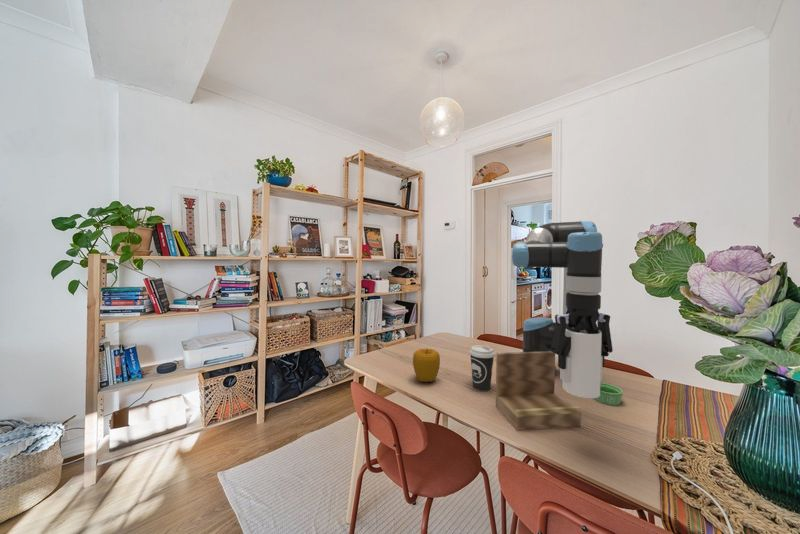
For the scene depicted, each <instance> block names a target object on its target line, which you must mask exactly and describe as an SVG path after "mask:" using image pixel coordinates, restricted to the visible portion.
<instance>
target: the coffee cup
mask: <svg viewBox="0 0 800 534" xmlns="http://www.w3.org/2000/svg"><path fill="white" fill-rule="evenodd" d="M468 354H469V355H470V364H471V365H470V367H471V377H472V378H471V380H472V381H471V382H472V388H473V389H475V390H477V391H481V392H487V391H490V390H491V384H492V375H493V367H494V358H495V356H496V354H495V351H494V349H493V348H492V347H490V346H487V345H482V344H481V345H479V344H477V345H473V346H471V347H470V349H469V351H468Z"/></svg>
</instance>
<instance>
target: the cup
mask: <svg viewBox="0 0 800 534" xmlns="http://www.w3.org/2000/svg"><path fill="white" fill-rule="evenodd" d="M572 328H573V327H572ZM565 335H566V336H567V337H571V349H570V351H569V354H568V357H570V358H571V363H570V383H566V382H565V381H563V380H562V382H561V383H562V390H564V391H565V392H567V393H568V394H570V395H573V396H575V397H579V398H584V399H594V398H597V397H599V396H600V382H601V381H600V374H601V340H602V332H601V331H600V330H599V331H598V334H588V333H587V331H586V330H585V329H583V330H580V332H579V333H577V332H572V331H569V330H567V329H566V331H565Z"/></svg>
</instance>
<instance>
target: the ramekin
mask: <svg viewBox="0 0 800 534" xmlns="http://www.w3.org/2000/svg"><path fill="white" fill-rule="evenodd" d="M623 393H624V391H623V390H622V389H621V388H620V387H618V386H616V385H614V384H611V383H607V382H602V381H600V396H599V397H597V398H593V399H594V400H595V401H597V402H599V403H602V404H605V405H609V406H618V405H620V404H621V403H622V402H621V401H622V396H623Z"/></svg>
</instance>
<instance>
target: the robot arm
mask: <svg viewBox="0 0 800 534" xmlns="http://www.w3.org/2000/svg"><path fill="white" fill-rule="evenodd" d="M525 241H526V242H523V241H522V242H516V243H514V244H513V246H512V250H511V257H512V258H511V262H512V264H513V266H514V267H517V268H518V267H519V268H520V267H521V268H563V290H562V291H563V293H562V295H563V296H562V314H561V315H560V314H555V315H554V320H553V319H552V318H551V317H540V316H539V317H531V318H530V317H529V318H526V319H525V320H524V321H523V327H522V352H540V351H551V352H553V353H555V355H557V366H558V368H559V370H560V371H559V380H561V381H562V382H563V381H565V382H566V383H570V363H571V358H570V357H568V354H569V351H570V349H571V337H567V336H566V335H565V331H566V329H567V330H569V331H572V332H577V333H579V332H580V330H583V329H585V330H586V331H587V333H588V334H598V331H599V330H600V331H601V332H602V340H601V374H600V382H602V381H603V368H604V367H605V358H606V357H608V356H610V353H613V349H614V348H613V344H612V335H611V327H610V323H611V321H610V320H611V316H610V315H609V314H605V313H601V312H599V310H600V309H601V307H602V304H601V302H602V295H600V294H599V293H601V292H602V264H603V263H602V262H603V248H604V243H603V235H602V233H601V232H598V228H597V226H596V224H595V222H594V221H589V220H588V221H586V220H585V221H583V220H579V221H567V222H566V221H565V222H563V221H562V222H561V221H560V222H549V223H545V224H542V225H539V226H536V227H535V228H533V229H531V230H530V231H529V232H528V234H527V236H526V239H525ZM554 321H555V322H554ZM572 327H573V328H572ZM556 375H557V367H556V366H555V376H556Z"/></svg>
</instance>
